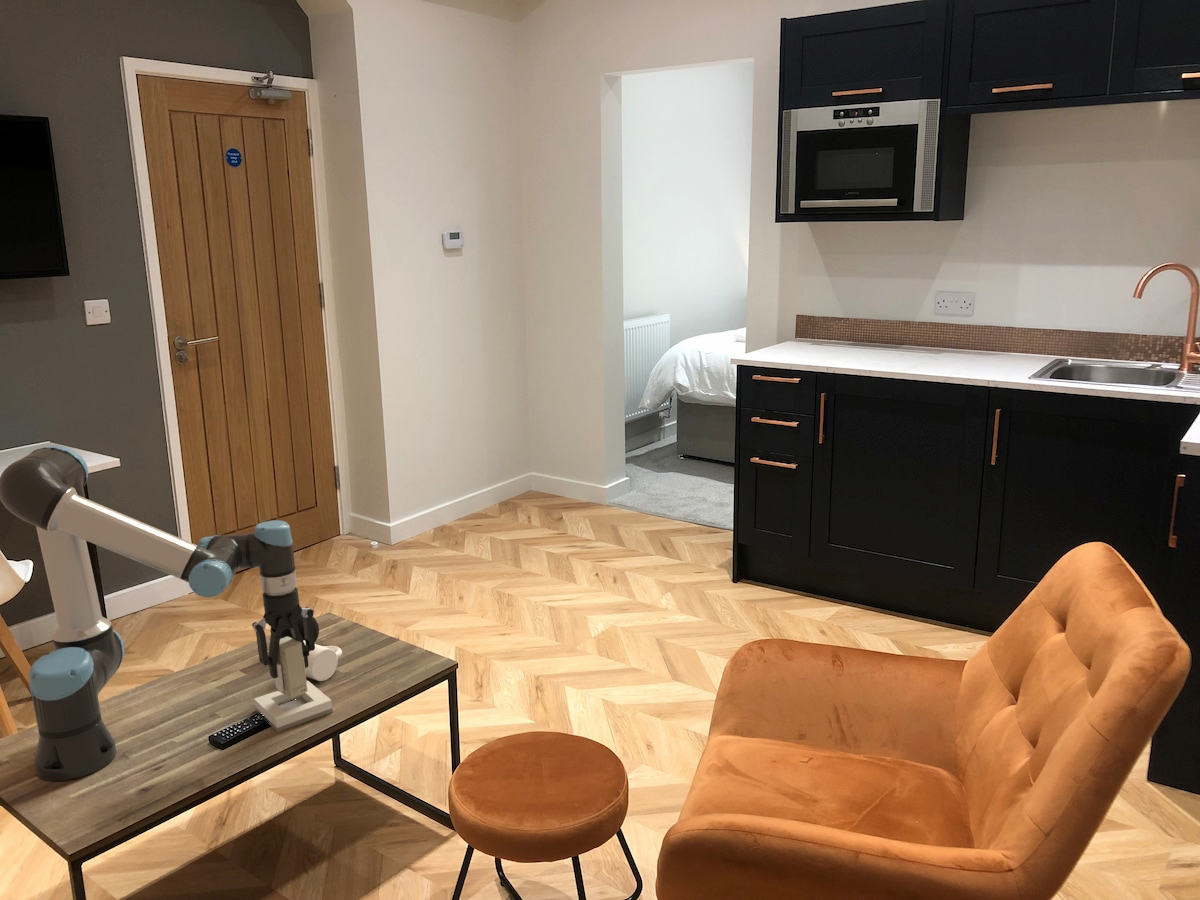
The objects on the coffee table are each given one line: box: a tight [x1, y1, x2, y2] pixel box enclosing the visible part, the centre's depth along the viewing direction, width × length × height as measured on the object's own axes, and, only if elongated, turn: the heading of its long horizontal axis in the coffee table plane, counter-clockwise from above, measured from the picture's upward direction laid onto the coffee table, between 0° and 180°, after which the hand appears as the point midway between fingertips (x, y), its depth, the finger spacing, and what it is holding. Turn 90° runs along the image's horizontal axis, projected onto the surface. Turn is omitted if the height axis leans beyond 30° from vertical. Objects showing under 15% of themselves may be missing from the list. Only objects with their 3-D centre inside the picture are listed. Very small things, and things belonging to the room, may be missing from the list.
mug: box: [303, 640, 343, 682], centre depth 242 cm, size 12×10×8 cm
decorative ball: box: [280, 615, 320, 643], centre depth 255 cm, size 10×10×10 cm
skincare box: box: [277, 636, 307, 698], centre depth 221 cm, size 6×4×12 cm
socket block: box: [253, 680, 334, 733], centre depth 223 cm, size 13×13×3 cm
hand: (291, 685), depth 222 cm, fingers closed on skincare box, 5 cm apart
